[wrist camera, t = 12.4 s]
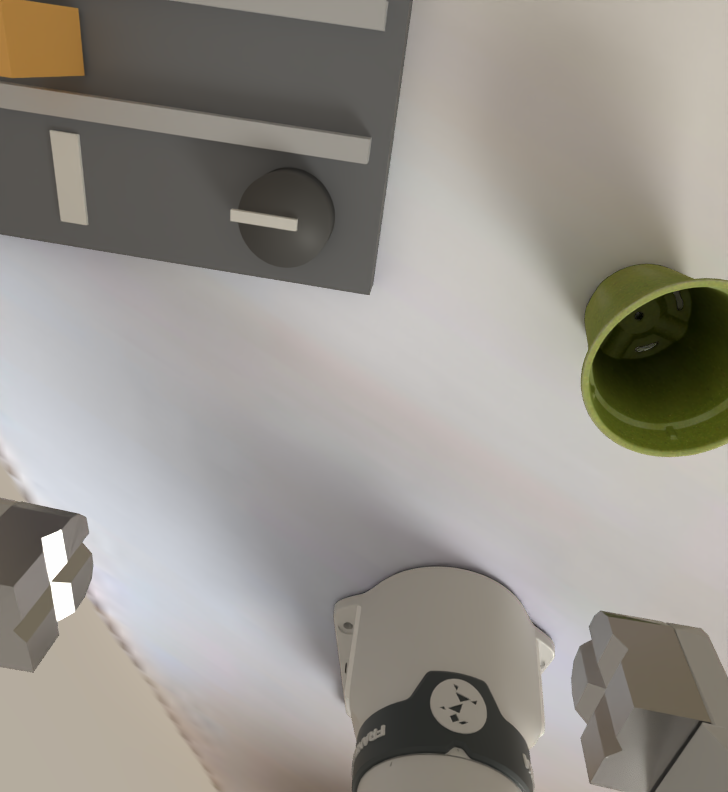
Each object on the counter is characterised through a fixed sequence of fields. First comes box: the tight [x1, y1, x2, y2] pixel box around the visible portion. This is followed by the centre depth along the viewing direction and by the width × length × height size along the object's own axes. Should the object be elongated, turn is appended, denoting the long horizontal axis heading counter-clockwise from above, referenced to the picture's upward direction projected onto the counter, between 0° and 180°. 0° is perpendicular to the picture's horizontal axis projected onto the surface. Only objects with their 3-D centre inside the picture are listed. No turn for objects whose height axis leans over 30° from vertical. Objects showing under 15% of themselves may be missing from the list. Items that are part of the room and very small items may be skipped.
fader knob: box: [0, 0, 85, 78], centre depth 28 cm, size 3×3×6 cm
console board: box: [0, 0, 413, 295], centre depth 31 cm, size 22×28×4 cm
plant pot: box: [581, 264, 728, 457], centre depth 32 cm, size 9×9×9 cm
